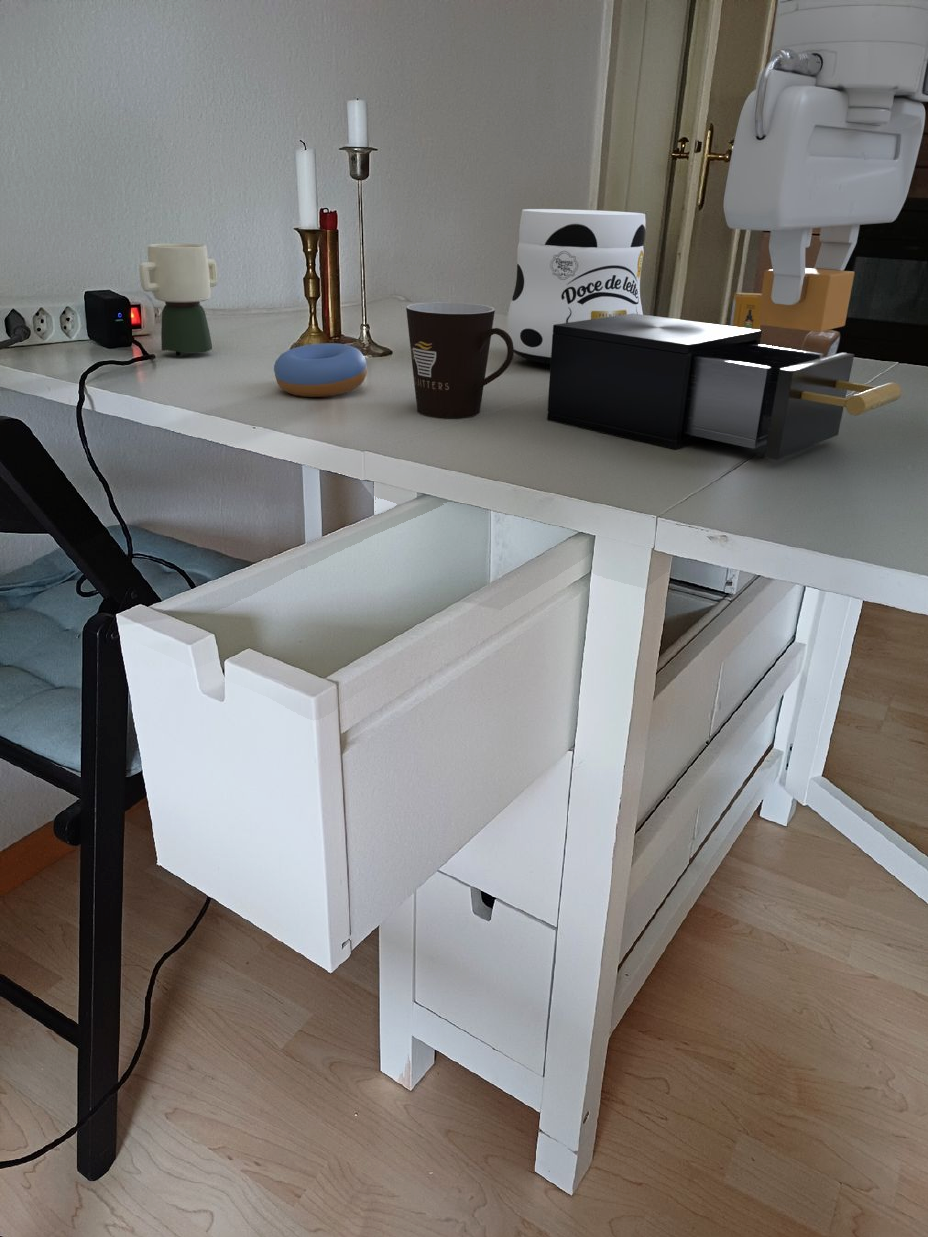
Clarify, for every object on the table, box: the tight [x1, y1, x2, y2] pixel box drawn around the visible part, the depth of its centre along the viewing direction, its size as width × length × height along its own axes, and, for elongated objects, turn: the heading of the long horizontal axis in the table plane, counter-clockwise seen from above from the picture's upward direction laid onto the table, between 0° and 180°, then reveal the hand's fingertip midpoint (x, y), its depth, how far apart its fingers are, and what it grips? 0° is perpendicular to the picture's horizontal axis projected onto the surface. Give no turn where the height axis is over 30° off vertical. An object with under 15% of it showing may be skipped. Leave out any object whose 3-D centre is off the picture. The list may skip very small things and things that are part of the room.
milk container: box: [506, 208, 646, 366], centre depth 117 cm, size 17×17×18 cm
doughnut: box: [273, 342, 368, 398], centre depth 100 cm, size 10×10×5 cm
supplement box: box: [729, 292, 762, 330], centre depth 111 cm, size 3×3×10 cm
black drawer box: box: [546, 313, 763, 450], centre depth 90 cm, size 15×14×9 cm
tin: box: [799, 329, 841, 357], centre depth 95 cm, size 15×3×8 cm, turn 154°
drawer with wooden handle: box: [682, 342, 903, 461], centre depth 82 cm, size 19×12×7 cm, turn 47°
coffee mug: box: [405, 301, 515, 419], centre depth 91 cm, size 12×9×10 cm
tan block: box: [757, 267, 855, 332], centre depth 62 cm, size 4×4×4 cm
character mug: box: [138, 242, 219, 357], centre depth 116 cm, size 11×7×13 cm, turn 140°
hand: (805, 300), depth 62 cm, fingers closed on tan block, 4 cm apart
